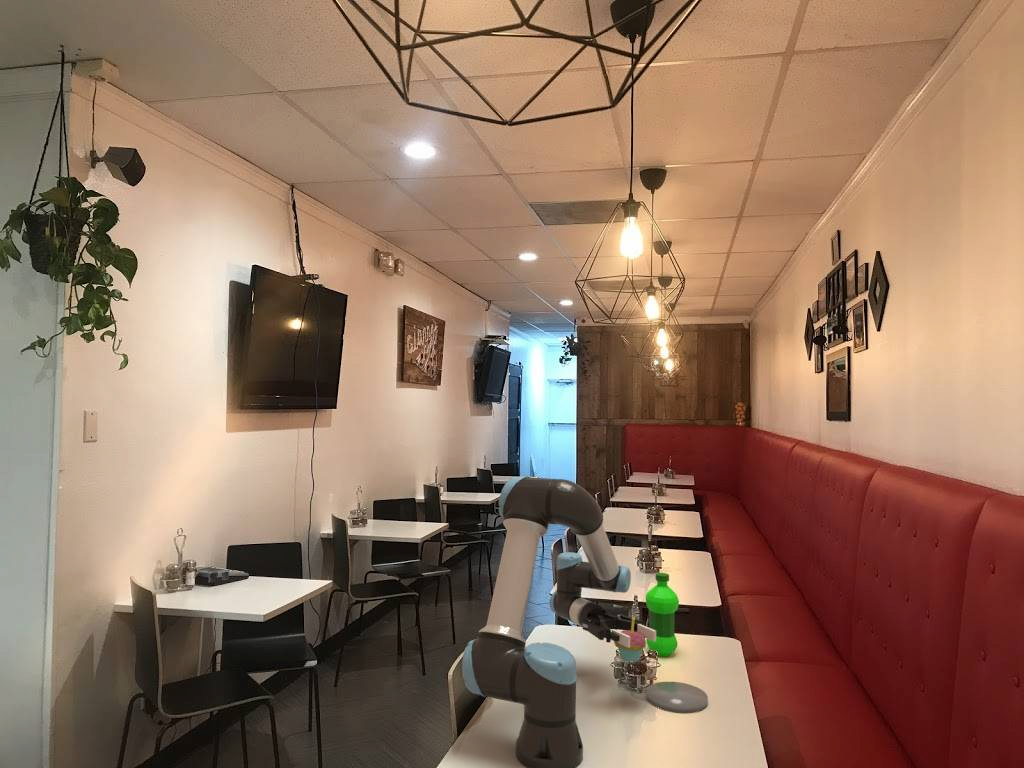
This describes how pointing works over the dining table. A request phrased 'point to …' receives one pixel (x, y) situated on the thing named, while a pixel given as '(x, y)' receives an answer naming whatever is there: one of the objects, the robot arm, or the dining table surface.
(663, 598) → the plastic bottle
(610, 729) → the dining table surface
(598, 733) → the dining table surface
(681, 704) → the slate plate
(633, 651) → the cupcake
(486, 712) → the dining table surface
